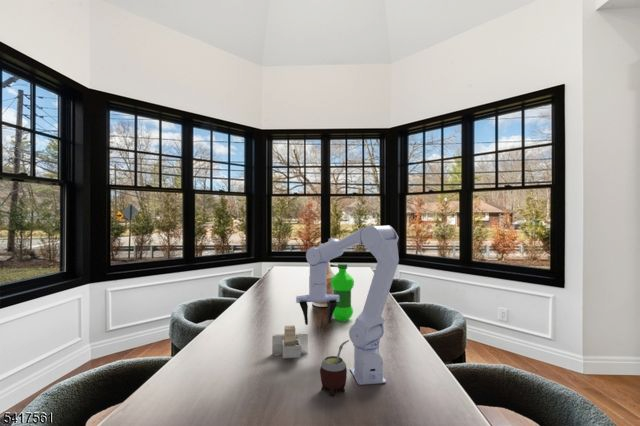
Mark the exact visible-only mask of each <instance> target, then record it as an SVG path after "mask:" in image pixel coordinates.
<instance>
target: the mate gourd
mask: <svg viewBox="0 0 640 426" xmlns="http://www.w3.org/2000/svg"><path fill="white" fill-rule="evenodd" d="M348 342H350V339H348V340H345V341H343V342H342V343H341V344H340V345H339V347H338V352H337V355H329V356H326V357H324V358H323V360H322V361H321V363H320V369H319V375H320V381H321V390H322V391H328V392H330V397H331V398H334V396H335V392H336V393H338V392H339V393H345V392H346V388H345V387H346V384H347V374H348V373H347V371H348V369H347V364H346V362H345V360H344V359H343V358H342V357H340V355H341V352H342V350H343V347H344V345H346V344H347V343H348Z"/></svg>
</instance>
